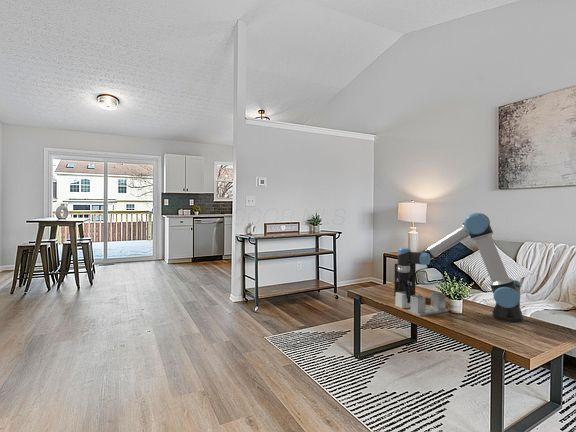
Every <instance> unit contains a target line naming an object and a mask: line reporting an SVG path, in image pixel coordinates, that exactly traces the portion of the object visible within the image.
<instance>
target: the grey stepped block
mask: <svg viewBox="0 0 576 432" xmlns="http://www.w3.org/2000/svg"><path fill="white" fill-rule="evenodd" d="M444 294H445V293H442V292H439V291H438V292H437V291H436V292H431V293H430V305H427V306H426V297H425V296H423V295H421V296H420V295H413V296H411V305H410V308H406V309H407V312H408V313H411V314H413V315H416V316H418V317H422V316H423V317H424V316H427V315H434V314H440V313H447V312H449V308H446V296H445V295H446V294H445V295H444Z"/></svg>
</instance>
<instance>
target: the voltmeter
mask: <svg viewBox="0 0 576 432" xmlns="http://www.w3.org/2000/svg"><path fill="white" fill-rule="evenodd" d="M416 266H417V264H413V263H410V271H409V273H410V278H409V282H412V283H413V284H412V289H413V295H415V294H416V275H417V274H416V271H417V270H416ZM397 278H399V277H398V262H397V263H394V280H395V279H397ZM394 289H395V286H394ZM402 291H405V288H404V287H403V286H402V289H401V292H402ZM395 294H396V293H393V295H394V297H395Z"/></svg>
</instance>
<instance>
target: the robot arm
mask: <svg viewBox="0 0 576 432" xmlns="http://www.w3.org/2000/svg"><path fill="white" fill-rule="evenodd" d="M493 234H494V231H493V228H492V226H491V221H490V219H489V217H488V215H486V214H485V213H481V212H474V213H471V214H469V215H467V217H466V218H465V219H464V222H463V223H462V224H461V226H459V227H458V228H456V229H455V230H454V231H452V232H450V233H449V234H447V235H445V236H444V237H442V238H441V239H439V240H437V241H436V242H434V243H432V244H431V245H429V246H428V247H426V248H424V249H423V250H420V251H411V249H410V248H409V247H399V248H397V250H398V251H397V263H398V277H399V278H397V279H395V278H394V287H395V289H394V291H393V292H394V293H396V292H401V289H402V286H403V287H404V288H405V292H406V296H407V297H406V308H405V309H410V298H411V296H413V289H412V284H413V283H412V282H409V278H410V273H409V271H410V263H413V264H416V265H421V266H425V265H426V266H428V265H430V263H431V260H432V259H434V258H435V257H437V256H438V255H440V254H442V253H443V252H445V251H447V250H448V249H451V248H452V247H454V246H455V245H457V244H459V243H461V242H462V241H464V240H466V239H467V238H470V239H471V240H472V241H474V242H475V244H476V247H477V249H478V251H479V254H480V256H481V259H482V261H483V264H484V266H485V268H486V271H487V273H488V276H489V278H490V283H489V286H490V288H491V292H492V295H493V300H494V302H495V306H494V307H493V310H492V314H491V315H492V318H494V319H496V320H499V321H503V322H506V323H507V322H508V323H515V324H516V323H523V322H524V316H523V312H522V310H521V304H520V303H521V282H520V281H519V280H515V279H513V278H510V277H509V275H508V272H507V270H506V268H505V265H504V263H503V260H502V258H501V255H500V254H499V251H498V249H497V246H496V245H495V241H494V239H493V237H492V235H493ZM394 293H393V294H394Z"/></svg>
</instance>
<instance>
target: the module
mask: <svg viewBox="0 0 576 432" xmlns="http://www.w3.org/2000/svg"><path fill="white" fill-rule="evenodd" d="M394 297H395V300H394V302H395V303H394V305H395V307H397V308H399V309H407V308H406V297H407V296H406V292H405V291H402V292H396V294H395V296H394ZM410 305H411V298H410Z"/></svg>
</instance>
